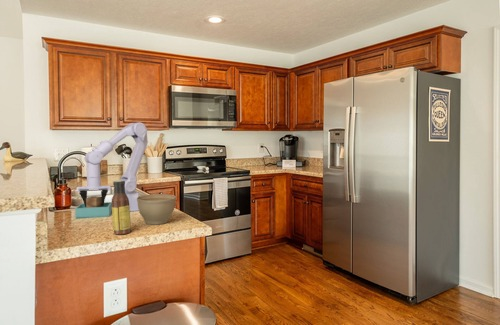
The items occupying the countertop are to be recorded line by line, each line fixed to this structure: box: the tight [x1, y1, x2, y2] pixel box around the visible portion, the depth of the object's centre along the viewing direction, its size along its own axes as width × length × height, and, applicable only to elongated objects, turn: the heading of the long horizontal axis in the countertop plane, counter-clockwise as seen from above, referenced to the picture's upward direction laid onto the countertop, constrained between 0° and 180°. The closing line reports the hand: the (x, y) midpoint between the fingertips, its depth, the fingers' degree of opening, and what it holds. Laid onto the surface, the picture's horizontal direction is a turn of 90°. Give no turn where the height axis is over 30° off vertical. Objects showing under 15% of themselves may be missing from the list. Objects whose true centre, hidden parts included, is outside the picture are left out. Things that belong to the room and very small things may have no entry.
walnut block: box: [86, 195, 102, 208], centre depth 160 cm, size 5×5×6 cm
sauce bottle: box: [111, 179, 132, 236], centre depth 128 cm, size 6×6×20 cm
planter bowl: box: [137, 193, 177, 225], centre depth 146 cm, size 16×16×11 cm
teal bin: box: [74, 201, 112, 219], centre depth 160 cm, size 14×12×4 cm
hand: (94, 206), depth 160 cm, fingers closed on walnut block, 6 cm apart
